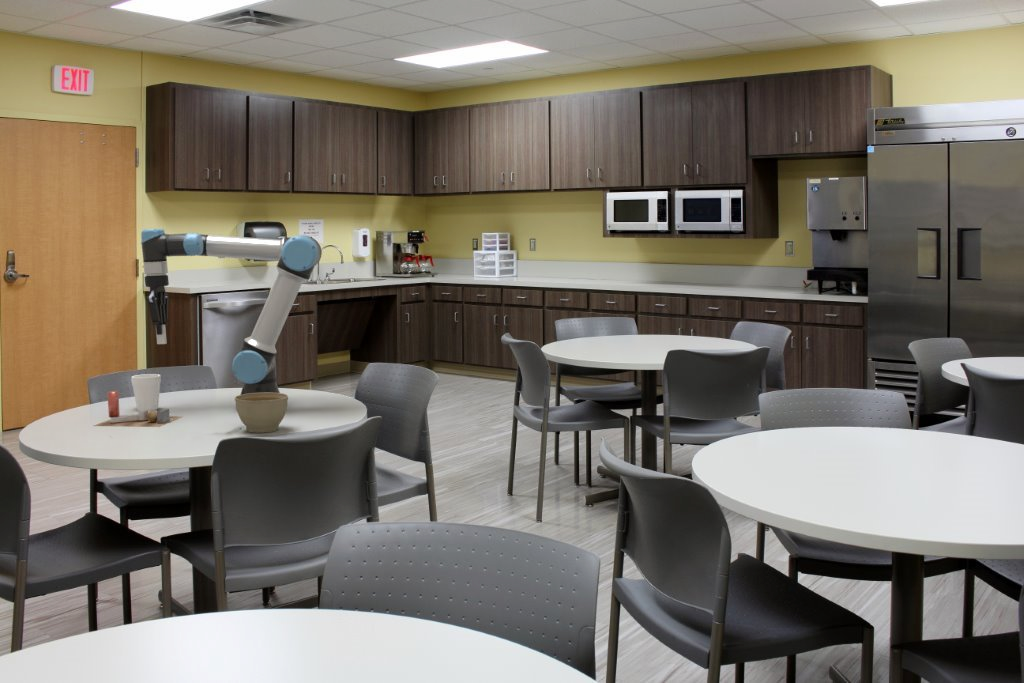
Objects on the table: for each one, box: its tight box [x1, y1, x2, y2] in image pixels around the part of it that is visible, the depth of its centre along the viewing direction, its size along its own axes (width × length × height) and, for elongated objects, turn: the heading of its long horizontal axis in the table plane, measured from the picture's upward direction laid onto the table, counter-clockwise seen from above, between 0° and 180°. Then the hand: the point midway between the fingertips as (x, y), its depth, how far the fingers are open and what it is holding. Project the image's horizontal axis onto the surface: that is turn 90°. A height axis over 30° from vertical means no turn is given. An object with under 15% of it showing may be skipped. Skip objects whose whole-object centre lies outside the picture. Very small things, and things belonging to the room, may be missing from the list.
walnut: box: [147, 410, 157, 422], centre depth 304 cm, size 4×4×4 cm
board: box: [93, 407, 183, 428], centre depth 306 cm, size 22×17×5 cm
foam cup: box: [130, 373, 162, 412], centre depth 328 cm, size 10×9×13 cm
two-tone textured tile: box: [156, 408, 171, 424], centre depth 303 cm, size 2×4×4 cm, turn 174°
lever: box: [107, 390, 157, 422], centre depth 306 cm, size 18×5×10 cm, turn 120°
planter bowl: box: [234, 392, 289, 434], centre depth 297 cm, size 16×16×11 cm
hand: (161, 343), depth 323 cm, fingers closed
